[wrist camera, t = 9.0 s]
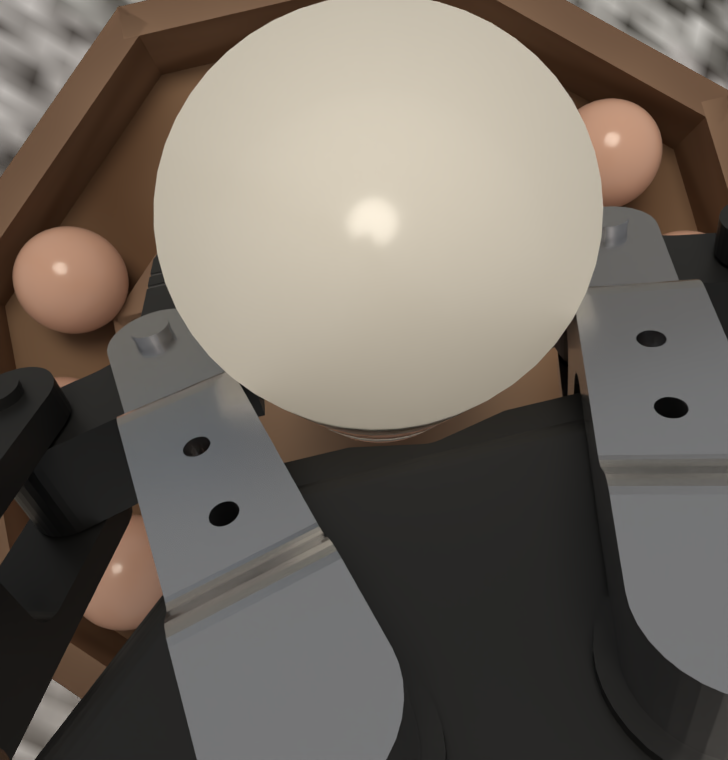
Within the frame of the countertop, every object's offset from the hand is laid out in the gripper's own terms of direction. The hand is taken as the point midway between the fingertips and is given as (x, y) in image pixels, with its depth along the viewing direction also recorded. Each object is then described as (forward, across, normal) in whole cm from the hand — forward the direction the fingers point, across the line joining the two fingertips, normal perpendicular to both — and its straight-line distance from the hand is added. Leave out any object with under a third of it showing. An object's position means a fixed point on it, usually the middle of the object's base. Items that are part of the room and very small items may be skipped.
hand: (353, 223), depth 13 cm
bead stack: (+1, 0, +4) cm, 5 cm away
